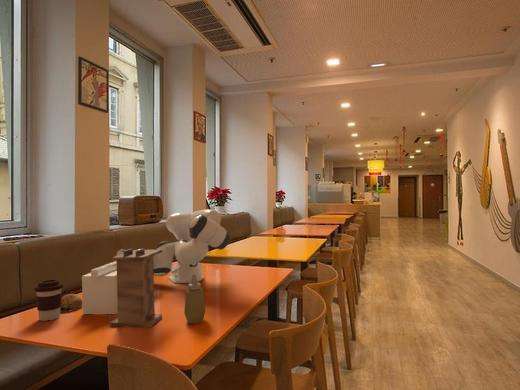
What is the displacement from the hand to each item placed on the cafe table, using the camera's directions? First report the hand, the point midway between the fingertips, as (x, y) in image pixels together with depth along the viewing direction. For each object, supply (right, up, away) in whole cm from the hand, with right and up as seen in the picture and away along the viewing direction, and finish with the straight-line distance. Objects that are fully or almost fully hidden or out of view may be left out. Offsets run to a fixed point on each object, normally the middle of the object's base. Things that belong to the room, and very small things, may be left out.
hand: (130, 250), depth 172 cm
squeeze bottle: (+39, -21, -40) cm, 60 cm away
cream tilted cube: (-1, -22, -21) cm, 30 cm away
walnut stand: (+17, -21, -36) cm, 45 cm away
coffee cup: (-21, -22, -32) cm, 45 cm away
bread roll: (-20, -23, -20) cm, 36 cm away
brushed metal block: (-2, -6, -19) cm, 20 cm away
